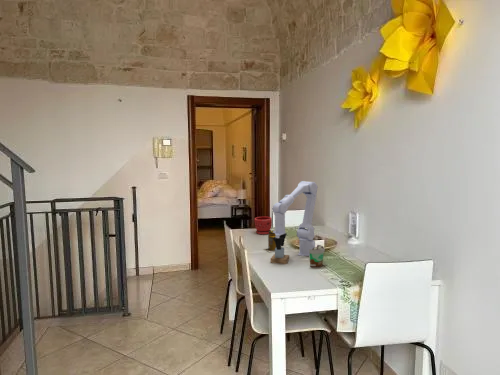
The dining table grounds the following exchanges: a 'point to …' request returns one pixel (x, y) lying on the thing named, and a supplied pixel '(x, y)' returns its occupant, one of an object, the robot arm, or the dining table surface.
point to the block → (279, 253)
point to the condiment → (271, 242)
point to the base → (280, 259)
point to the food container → (316, 256)
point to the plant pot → (263, 225)
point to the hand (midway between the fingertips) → (280, 247)
